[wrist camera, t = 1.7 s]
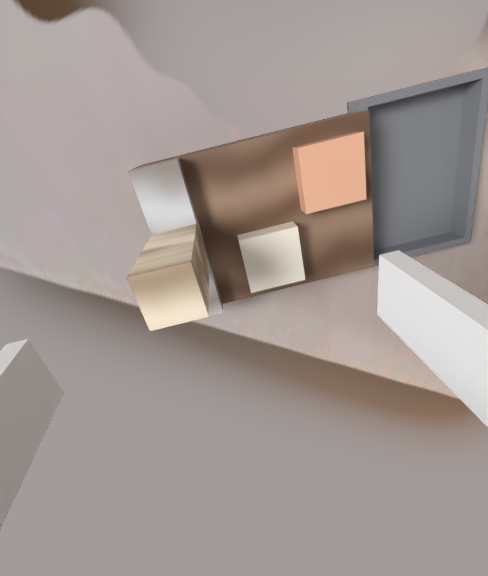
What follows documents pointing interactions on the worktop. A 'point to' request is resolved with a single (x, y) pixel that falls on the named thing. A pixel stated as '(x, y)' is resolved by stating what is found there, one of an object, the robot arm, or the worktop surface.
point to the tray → (425, 162)
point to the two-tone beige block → (171, 251)
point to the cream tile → (272, 256)
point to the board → (276, 204)
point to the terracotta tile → (330, 172)
